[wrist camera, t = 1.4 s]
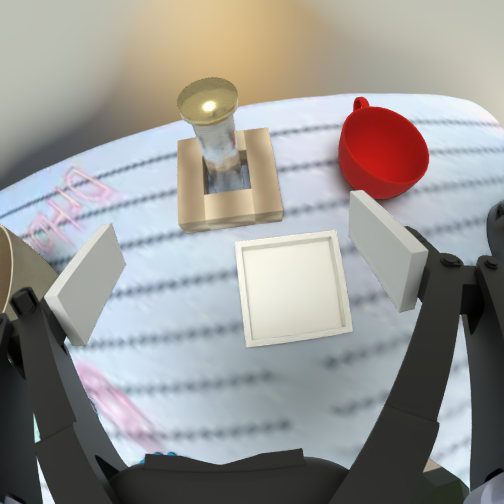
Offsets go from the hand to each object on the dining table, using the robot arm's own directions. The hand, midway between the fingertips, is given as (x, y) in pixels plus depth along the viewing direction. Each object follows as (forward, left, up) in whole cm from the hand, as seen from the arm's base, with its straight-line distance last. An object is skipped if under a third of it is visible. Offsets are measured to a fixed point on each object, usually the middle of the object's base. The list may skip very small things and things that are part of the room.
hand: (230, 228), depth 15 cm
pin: (+2, -16, -25) cm, 30 cm away
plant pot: (+35, -2, -26) cm, 43 cm away
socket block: (+2, -16, -25) cm, 30 cm away
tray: (-5, +1, -25) cm, 26 cm away
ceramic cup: (-20, -17, -26) cm, 37 cm away
